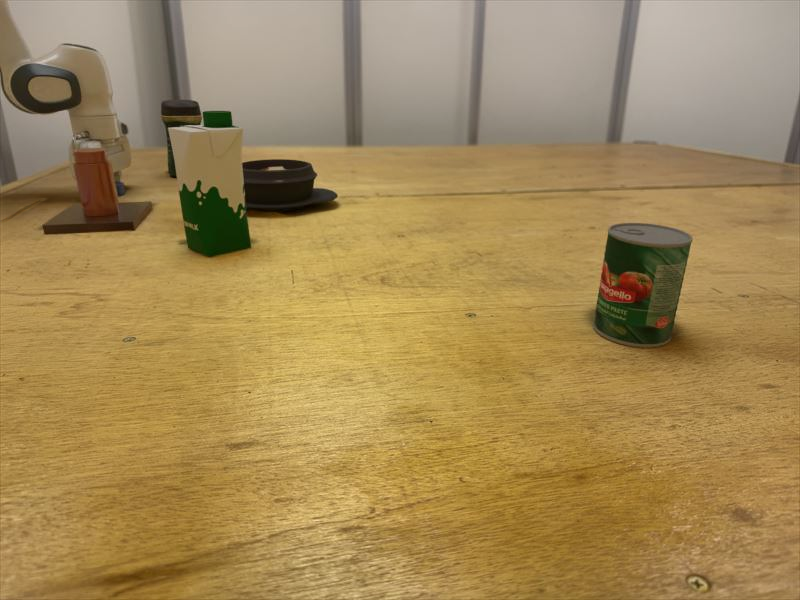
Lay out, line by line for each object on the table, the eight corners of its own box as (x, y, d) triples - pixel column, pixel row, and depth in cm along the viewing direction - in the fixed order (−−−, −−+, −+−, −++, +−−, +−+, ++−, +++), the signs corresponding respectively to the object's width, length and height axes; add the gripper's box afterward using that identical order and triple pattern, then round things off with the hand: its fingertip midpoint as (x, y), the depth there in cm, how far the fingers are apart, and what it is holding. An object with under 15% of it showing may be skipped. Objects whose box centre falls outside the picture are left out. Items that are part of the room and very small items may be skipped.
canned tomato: (681, 330, 60) (703, 232, 56) (656, 355, 54) (678, 249, 50) (609, 310, 65) (625, 218, 60) (580, 331, 59) (595, 232, 55)
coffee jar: (171, 179, 138) (160, 100, 131) (167, 174, 144) (156, 99, 137) (211, 176, 142) (202, 100, 135) (205, 171, 149) (196, 98, 142)
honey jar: (79, 217, 96) (65, 152, 92) (87, 209, 101) (74, 148, 97) (117, 215, 98) (105, 151, 93) (123, 207, 103) (111, 147, 99)
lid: (131, 192, 123) (129, 181, 122) (113, 197, 117) (112, 187, 116) (104, 191, 124) (103, 180, 123) (86, 196, 118) (83, 186, 117)
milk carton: (259, 248, 86) (247, 112, 78) (204, 260, 80) (185, 115, 72) (231, 236, 91) (217, 109, 84) (178, 247, 85) (158, 111, 78)
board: (44, 234, 92) (42, 225, 91) (75, 211, 106) (73, 203, 105) (134, 230, 94) (132, 221, 94) (152, 208, 109) (151, 201, 108)
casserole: (213, 222, 100) (207, 175, 97) (211, 200, 116) (206, 160, 113) (347, 212, 107) (346, 169, 104) (328, 194, 123) (326, 155, 120)
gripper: (87, 134, 106) (101, 205, 111) (131, 125, 125) (141, 186, 130) (53, 134, 106) (69, 205, 111) (103, 125, 125) (114, 186, 130)
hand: (109, 195), depth 121 cm, fingers closed on lid, 6 cm apart
